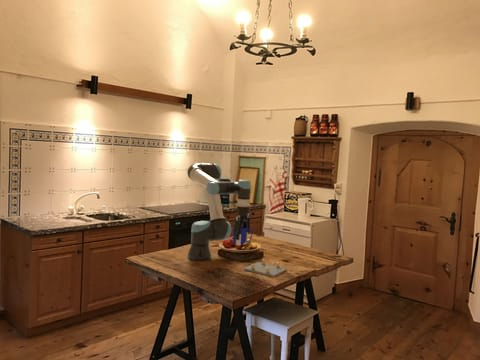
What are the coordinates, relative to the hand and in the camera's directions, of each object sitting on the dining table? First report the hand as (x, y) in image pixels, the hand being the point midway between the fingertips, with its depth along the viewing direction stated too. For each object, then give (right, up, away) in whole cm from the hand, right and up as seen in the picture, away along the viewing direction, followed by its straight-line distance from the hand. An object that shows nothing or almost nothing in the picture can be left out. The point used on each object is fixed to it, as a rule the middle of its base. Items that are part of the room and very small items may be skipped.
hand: (241, 243), depth 241 cm
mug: (0, 0, +1) cm, 1 cm away
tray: (+14, -16, 0) cm, 21 cm away
